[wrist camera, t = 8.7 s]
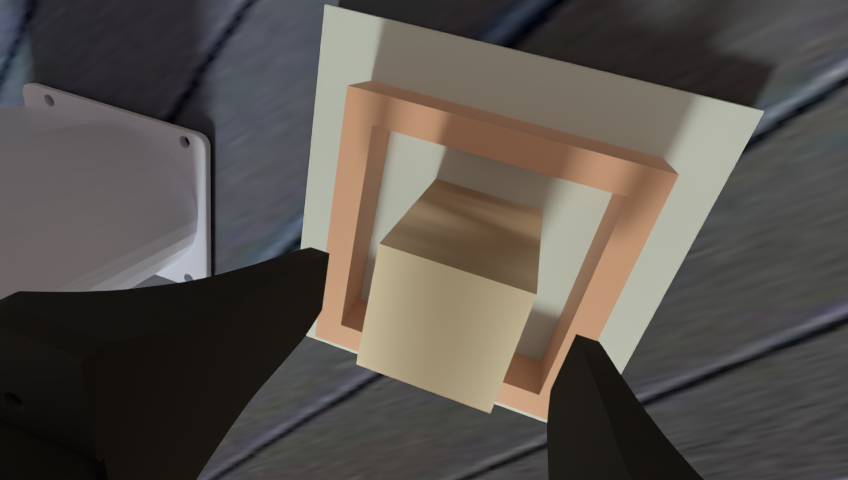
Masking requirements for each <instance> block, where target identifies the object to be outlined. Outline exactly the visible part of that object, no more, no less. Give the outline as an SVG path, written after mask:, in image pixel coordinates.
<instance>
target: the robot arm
mask: <svg viewBox="0 0 848 480" xmlns="http://www.w3.org/2000/svg"><path fill="white" fill-rule="evenodd" d="M23 96H24V101H25V106H17V107H8V108H0V480H196V479H197V477H198V476H199V474H200V473H201V471H202V469H203V468H204V466H205V465H206V463H207V462H208V460H209V459H210V457H211V456H212V454H213V453H214V451H215V450H216V448H217V447H218V445H219V444H220V442H221V441H222V439H223V438H224V436H225V435H226V433H227V432H228V431H229V429H230V428H231V426H232V425H233V424H234V422H235V421H236V419H237V418H238V416H239V415H240V414H241V412H242V411H243V409H244V408H245V407H246V405H247V404H248V403H249V401H250V400H251V399H252V398H253V396H254V395H255V394H256V393H257V391H258V390H259V389H260V388H261V387H262V386H263V384H264V383H265V382H266V381H267V380H268V379H269V378H270V376H271V375H272V374H273V373H274V372H275V371H276V370H277V369H278V367H279V366H280V365H281V364H282V363H283V362H284V361H285V359H286V358H287V357H288V356H289V355H290V354H291V352H292V351H293V350H294V349H295V348H296V347H297V346H298V344H299V343H300V342H301V341H302V340H303V338H304V337H305V336H306V334H307V333H308V331H309V330H310V328H311V327H312V325H313V324H314V322H315V321H316V319H317V318H318V316H319V314H320V313H321V311H322V307H323V300H324V292H325V285H326V277H327V269H328V262H329V254H330V253H327V252H324V251H321V250H318V249H315V248H312V247H309V248H305V249H301V250H298V251H295V252H291V253H288V254H285V255H282V256H279V257H276V258H273V259H270V260H267V261H264V262H261V263H258V264H254V265H251V266H248V267H244V268H240V269H237V270H233V271H230V272H226V273H222V274H219V275H215V276H211V172H210V142H209V140H208V138H207V137H206V136H205V135H204V134H202V133H200V132H197V131H194V130H191V129H187V128H184V127H181V126H178V125H174V124H171V123H168V122H164V121H161V120H158V119H154V118H151V117H148V116H144V115H141V114H138V113H134V112H131V111H128V110H125V109H121V108H118V107H115V106H111V105H108V104H105V103H101V102H98V101H95V100H91V99H88V98H85V97H81V96H78V95H75V94H71V93H68V92H65V91H62V90H58V89H55V88H52V87H48V86H45V85H42V84H38V83H27V84H25V85H24V87H23ZM186 137H187V138H188V140H189V143H190V145H188V143H187V142H186ZM154 274H156V275H159V276H162V277H164V278H167V279H170V280H173V281H176V282H178V283H174V284H167V285H159V286H151V287H143V288H135V289H130V288H132V287H133V286H135V285H137V284H139V283H140V282H142V281H144V280H145V279H147V278H149V277H151V276H152V275H154ZM190 275H191V276H192V277H191V276H190ZM547 442H548V473H549V480H703V478H702V477H701V476H700V475H699V474H698V473H697V472H696V471H695V470H694V469H693V468H692V467H691V466H690V464H689V463H688V462H687V461H686V460H685V459H684V458H683V457H682V455H681V454H680V453H679V452H678V451H677V450H676V449H675V447H674V446H673V445H672V444H671V443H670V442H669V440H668V439H667V438H666V437H665V436H664V434H663V433H662V432H661V430H660V429H659V428H658V427H657V425H656V424H655V423H654V421H653V420H652V419H651V417H650V416H649V415H648V413H647V412H646V411H645V409H644V408H643V407H642V405H641V404H640V402H639V401H638V400H637V398H636V397H635V395H634V394H633V392H632V391H631V389H630V388H629V386H628V385H627V383H626V382H625V380H624V379H623V377H622V376H621V374H620V373H619V371H618V370H617V368H616V366H615V365H614V363H613V362H612V360H611V359H610V357H609V356H608V354H607V352H606V351H605V349H604V348H603V346H602V345H601V344H600V342H599V341H596V340H593V339H590V338H587V337H584V336H581V335H577V334H576V336H575V338H574V340H573V342H572V344H571V347H570V349H569V351H568V353H567V355H566V357H565V360H564V362H563V364H562V366H561V368H560V370H559V373H558V375H557V377H556V379H555V381H554V383H553V386H552V388H551V391H550V399H549V408H548V419H547Z"/></svg>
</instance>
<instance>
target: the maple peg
mask: <svg viewBox="0 0 848 480" xmlns="http://www.w3.org/2000/svg"><path fill="white" fill-rule="evenodd" d="M542 213H543V210H540V209H536V208H533V207H530V206H526V205H523V204H519V203H516V202H513V201H509V200H506V199H503V198H499V197H496V196H492V195H489V194H486V193H482V192H479V191H475V190H472V189H469V188H465V187H462V186H458V185H455V184H452V183H448V182H445V181H441V180H438V179H435V180H434V181H433V182H432V184H431V185H430V186H429V187H428V188H427V189H426V190H425V192H424V193H423V194H422V195H421V196H420V197H419V198H418V200H417V201H416V202H415V203H414V204H413V205H412V206H411V208H410V209H409V210H408V211H407V212H406V213H405V214H404V216H403V217H402V218H401V219H400V220H399V221H398V222H397V224H396V225H395V226H394V227H393V228H392V229H391V230H390V232H389V233H388V234H387V235H386V236H385V237H384V239H383V240H382V241H381V242H380V243H379V246H378V252H377V257H376V262H375V267H374V273H373V278H372V283H371V289H370V294H369V299H368V304H367V310H366V315H365V320H364V326H363V331H362V336H361V342H360V347H359V352H358V357H357V363H356V364H357V365H360V366H362V367H365V368H368V369H370V370H373V371H376V372H379V373H381V374H384V375H387V376H390V377H392V378H395V379H398V380H400V381H403V382H406V383H409V384H411V385H414V386H417V387H419V388H422V389H425V390H428V391H430V392H433V393H436V394H439V395H441V396H444V397H447V398H449V399H452V400H455V401H458V402H460V403H463V404H466V405H469V406H471V407H474V408H477V409H479V410H482V411H485V412H488V413H491V410H492V408H493V405H494V403H495V400H496V398H497V395H498V393H499V390H500V387H501V385H502V382H503V380H504V377H505V375H506V372H507V370H508V367H509V365H510V362H511V359H512V357H513V354H514V352H515V349H516V347H517V344H518V342H519V339H520V336H521V334H522V331H523V329H524V326H525V324H526V321H527V319H528V316H529V314H530V311H531V308H532V306H533V303H534V301H535V298H536V296H537V286H538V272H539V257H540V242H541V228H542Z"/></svg>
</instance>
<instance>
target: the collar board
mask: <svg viewBox="0 0 848 480" xmlns="http://www.w3.org/2000/svg"><path fill="white" fill-rule="evenodd" d="M763 113H764V111H762V110H759V109H756V108H753V107H749V106H745V105H741V104H737V103H732V102H728V101H724V100H720V99H716V98H712V97H708V96H704V95H700V94H695V93H691V92H687V91H683V90H679V89H675V88H671V87H667V86H663V85H658V84H654V83H650V82H646V81H642V80H638V79H634V78H630V77H626V76H621V75H617V74H613V73H609V72H605V71H601V70H597V69H593V68H589V67H584V66H580V65H576V64H572V63H568V62H564V61H560V60H556V59H552V58H547V57H543V56H539V55H535V54H531V53H527V52H523V51H519V50H515V49H510V48H506V47H502V46H498V45H494V44H490V43H486V42H482V41H477V40H473V39H469V38H465V37H461V36H457V35H453V34H449V33H445V32H440V31H436V30H432V29H428V28H424V27H420V26H416V25H412V24H408V23H403V22H399V21H395V20H391V19H387V18H383V17H379V16H375V15H371V14H366V13H362V12H358V11H354V10H350V9H346V8H342V7H338V6H332V5H326V4H325V8H324V18H323V28H322V38H321V48H320V58H319V68H318V79H317V89H316V99H315V109H314V119H313V129H312V139H311V150H310V160H309V170H308V180H307V190H306V200H305V210H304V221H303V231H302V241H301V249H305V248H309V247H312V248H315V249H318V250H321V251H324V252H327V253H330V254H329V262H328V269H327V277H326V285H325V292H324V300H323V307H322V311H321V313H320V314H319V316H318V318H317V319H316V321H315V322H314V324H313V325H312V327H311V328H310V330H309V331H308V333H307V334H306V336H309V337H312V338H314V339H317V340H320V341H323V342H325V343H328V344H331V345H334V346H336V347H339V348H342V349H345V350H347V351H350V352H353V353H356V354H358V352H359V347H360V342H361V336H362V331H363V326H364V320H365V315H366V310H367V304H368V299H369V294H370V289H371V283H372V278H373V273H374V267H375V262H376V257H377V252H378V246H379V243H380V242H381V241H382V240H383V239H384V237H385V236H386V235H387V234H388V233H389V232H390V230H391V229H392V228H393V227H394V226H395V225H396V224H397V222H398V221H399V220H400V219H401V218H402V217H403V216H404V214H405V213H406V212H407V211H408V210H409V209H410V208H411V206H412V205H413V204H414V203H415V202H416V201H417V200H418V198H419V197H420V196H421V195H422V194H423V193H424V192H425V190H426V189H427V188H428V187H429V186H430V185H431V184H432V182H433V181H434V180H435V179H438V180H441V181H445V182H448V183H452V184H455V185H458V186H462V187H465V188H469V189H472V190H475V191H479V192H482V193H486V194H489V195H492V196H496V197H499V198H503V199H506V200H509V201H513V202H516V203H519V204H523V205H526V206H530V207H533V208H536V209H540V210H543V213H542V228H541V242H540V257H539V272H538V286H537V296H536V298H535V301H534V303H533V306H532V308H531V311H530V314H529V316H528V319H527V321H526V324H525V326H524V329H523V331H522V334H521V336H520V339H519V342H518V344H517V347H516V349H515V352H514V354H513V357H512V359H511V362H510V365H509V367H508V370H507V372H506V375H505V377H504V380H503V382H502V385H501V387H500V390H499V393H498V395H497V398H496V400H495V403H494V404H496V405H499V406H502V407H505V408H508V409H510V410H513V411H516V412H519V413H521V414H524V415H527V416H530V417H532V418H535V419H538V420H541V421H543V422H546V423H547V419H548V408H549V399H550V391H551V388H552V386H553V383H554V381H555V379H556V377H557V375H558V373H559V370H560V368H561V366H562V364H563V362H564V360H565V357H566V355H567V353H568V351H569V349H570V347H571V344H572V342H573V340H574V338H575V336H576V334H577V335H581V336H584V337H587V338H590V339H593V340H596V341H599V342H600V344H601V345H602V346H603V348H604V349H605V351H606V352H607V354H608V356H609V357H610V359H611V360H612V362H613V363H614V365H615V366H616V368H617V370H618V371H619V373H620V374H621V373H622V371H623V370H624V368H625V366H626V364H627V362H628V360H629V359H630V357H631V355H632V353H633V351H634V349H635V348H636V346H637V344H638V342H639V340H640V338H641V337H642V335H643V333H644V331H645V329H646V327H647V326H648V324H649V322H650V320H651V318H652V316H653V315H654V313H655V311H656V309H657V307H658V305H659V304H660V302H661V300H662V298H663V296H664V294H665V293H666V291H667V289H668V287H669V285H670V283H671V282H672V280H673V278H674V276H675V274H676V272H677V271H678V269H679V267H680V265H681V263H682V261H683V260H684V258H685V256H686V254H687V252H688V250H689V249H690V247H691V245H692V243H693V241H694V239H695V238H696V236H697V234H698V232H699V230H700V228H701V227H702V225H703V223H704V221H705V219H706V217H707V216H708V214H709V212H710V210H711V208H712V206H713V205H714V203H715V201H716V199H717V197H718V195H719V194H720V192H721V190H722V188H723V186H724V184H725V183H726V181H727V179H728V177H729V175H730V173H731V172H732V170H733V168H734V166H735V164H736V162H737V161H738V159H739V157H740V155H741V153H742V151H743V150H744V148H745V146H746V144H747V142H748V140H749V139H750V137H751V135H752V133H753V131H754V129H755V128H756V126H757V124H758V122H759V120H760V118H761V117H762V115H763Z"/></svg>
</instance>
